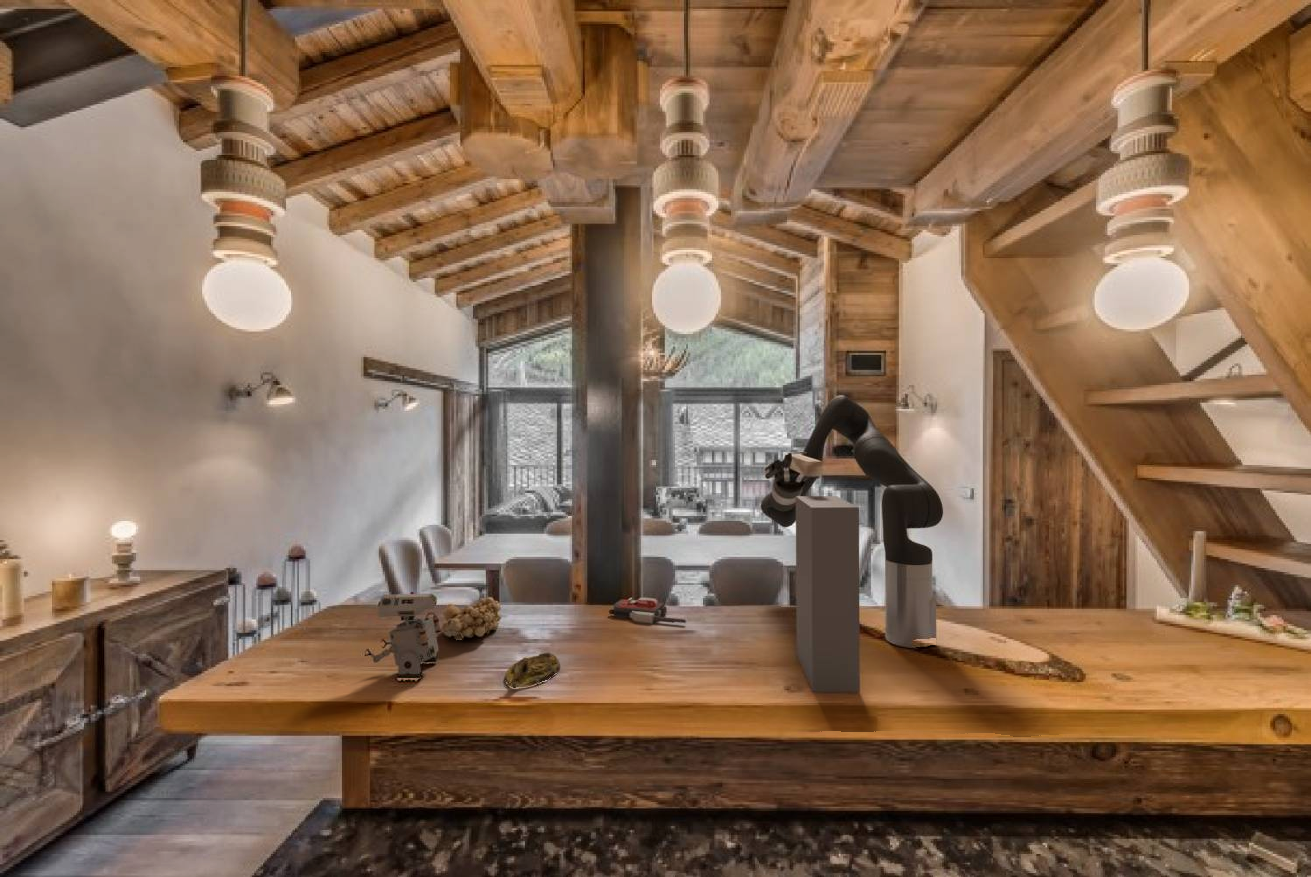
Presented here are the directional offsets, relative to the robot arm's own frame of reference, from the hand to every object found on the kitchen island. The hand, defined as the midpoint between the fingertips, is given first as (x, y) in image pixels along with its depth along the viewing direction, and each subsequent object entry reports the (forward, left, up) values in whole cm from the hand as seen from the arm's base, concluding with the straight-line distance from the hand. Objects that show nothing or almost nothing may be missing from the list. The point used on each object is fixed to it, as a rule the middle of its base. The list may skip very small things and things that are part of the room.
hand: (798, 456), depth 136 cm
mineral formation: (+74, +12, -39) cm, 85 cm away
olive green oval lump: (+55, +30, -40) cm, 74 cm away
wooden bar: (0, +6, -3) cm, 7 cm away
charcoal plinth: (0, +28, -39) cm, 48 cm away
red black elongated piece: (+35, -3, -40) cm, 53 cm away
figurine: (+79, +31, -39) cm, 93 cm away
